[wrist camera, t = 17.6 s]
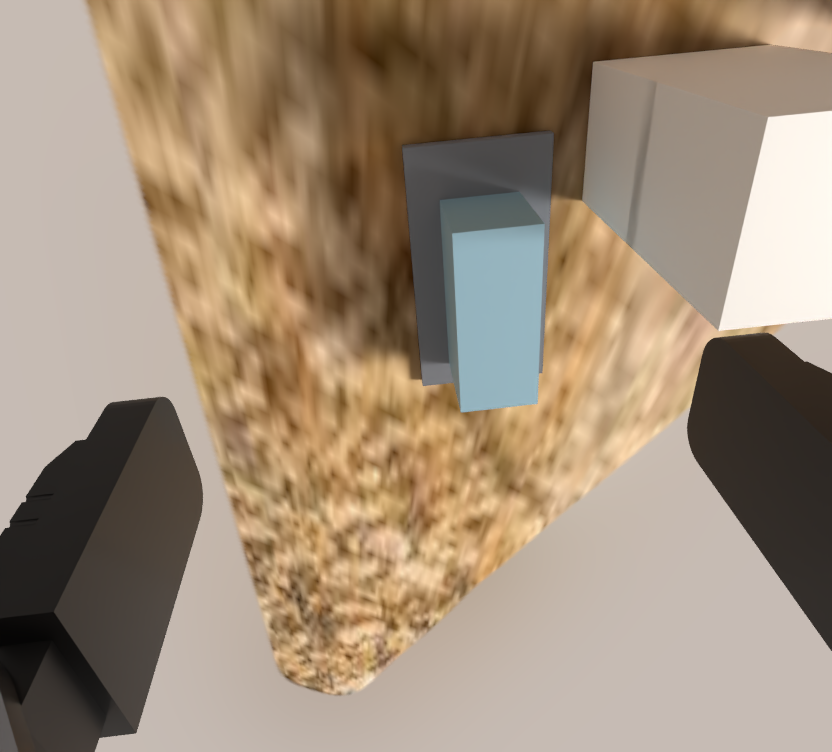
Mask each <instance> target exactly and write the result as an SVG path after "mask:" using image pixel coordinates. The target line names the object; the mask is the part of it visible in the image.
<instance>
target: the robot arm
mask: <svg viewBox="0 0 832 752" xmlns="http://www.w3.org/2000/svg"><path fill="white" fill-rule="evenodd" d="M687 432H688V440H689V444H690V448H691V451H692V453H693V455H694V457H695V459H696V461H697V462H698V464H699V465H700V467H701V468H702V469H703V471H704V472H705V474H706V475H707V476H708V478H709V479H710V481H711V482H712V483H713V485H714V486H715V488H716V489H717V490H718V492H719V493H720V495H721V496H722V497H723V499H724V500H725V502H726V503H727V504H728V506H729V507H730V509H731V510H732V512H733V513H734V514H735V516H736V517H737V519H738V520H739V521H740V523H741V524H742V526H743V527H744V529H745V530H746V531H747V533H748V534H749V535H750V537H751V538H752V540H753V541H754V542H755V544H756V545H757V547H758V548H759V550H760V551H761V552H762V554H763V555H764V556H765V558H766V559H767V561H768V562H769V564H770V565H771V566H772V568H773V569H774V571H775V572H776V574H777V575H778V576H779V578H780V579H781V580H782V582H783V583H784V585H785V586H786V587H787V589H788V590H789V592H790V593H791V595H792V596H793V597H794V599H795V600H796V602H797V603H798V604H799V606H800V607H801V609H802V610H803V611H804V613H805V614H806V615H807V617H808V618H809V620H810V621H811V623H812V624H813V626H814V627H815V628H816V630H817V631H818V633H819V634H820V635H821V637H822V638H823V640H824V641H825V642H826V644H827V645H828V647H829V648H830V649H831V651H832V373H830V372H828V371H826V370H824V369H822V368H819V367H817V366H815V365H813V364H811V363H809V362H804V361H803V360H802V359H800V358H799V357H798V356H797V355H796V354H795V353H793V352H792V351H791V350H790V349H789V348H787V347H786V346H785V345H784V344H783V343H781V342H780V341H779V340H778V339H777V338H776V337H774V336H773V335H771V334H769V333H756V334H746V335H737V336H728V337H719V338H713V339H711V340H710V341H709V342H708V343H707V345H706V346H705V348H704V351H703V355H702V359H701V364H700V368H699V372H698V377H697V381H696V386H695V390H694V395H693V399H692V404H691V408H690V413H689V418H688V425H687ZM202 505H203V491H202V483H201V478H200V475H199V471H198V469H197V466H196V463H195V461H194V458H193V455H192V453H191V450H190V448H189V445H188V442H187V440H186V437H185V434H184V432H183V429H182V426H181V424H180V421H179V419H178V416H177V413H176V411H175V408H174V406H173V404H172V403H171V401H170V400H169V399H168V398H166V397H156V398H147V399H138V400H129V401H120V402H112V403H110V404H108V405H107V406H106V408H105V409H104V411H103V412H102V414H101V416H100V417H99V419H98V421H97V422H96V424H95V426H94V427H93V429H92V431H91V432H90V434H89V436H88V437H87V439H86V440H80V441H75V442H74V443H73V444H71V445H70V446H69V447H68V448H67V449H66V450H64V451H63V452H62V453H61V454H60V455H59V456H57V457H56V458H55V459H54V460H53V461H52V462H50V463H49V464H48V465H47V466H46V467H45V468H44V469H43V471H42V472H41V474H40V476H39V477H38V479H37V480H36V482H35V483H34V485H33V486H32V488H31V490H30V491H29V493H28V494H27V495H26V502H23V503H21V505H20V506H19V508H18V509H17V511H16V512H15V514H14V515H13V517H12V519H11V520H10V527H9V528H5V529H4V531H3V532H2V534H1V535H0V752H95V749H96V746H97V743H98V740H99V738H102V737H110V736H118V735H125V734H134V733H136V732H137V729H138V726H139V722H140V718H141V715H142V712H143V708H144V705H145V702H146V699H147V695H148V692H149V688H150V685H151V682H152V678H153V675H154V672H155V668H156V665H157V661H158V658H159V655H160V651H161V648H162V645H163V641H164V638H165V635H166V631H167V628H168V625H169V621H170V618H171V614H172V611H173V608H174V604H175V601H176V598H177V594H178V591H179V588H180V584H181V581H182V577H183V574H184V571H185V567H186V564H187V561H188V557H189V554H190V550H191V547H192V544H193V540H194V537H195V534H196V530H197V527H198V524H199V520H200V517H201V513H202Z"/></svg>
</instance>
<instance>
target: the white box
mask: <svg viewBox="0 0 832 752" xmlns="http://www.w3.org/2000/svg"><path fill="white" fill-rule="evenodd" d="M582 201H583V202H584V203H585V204H586V205H587V206H588V207H589V208H590V209H591V210H592V211H593V212H594V213H595V214H596V215H598V216H599V217H600V218H601V219H602V220H603V221H604V222H605V223H606V224H607V225H608V226H609V227H610V228H611V229H612V230H613V231H614V232H615V233H616V234H617V235H618V236H620V237H621V238H622V239H623V240H624V241H625V242H626V243H627V244H628V245H629V246H630V247H631V248H632V249H633V250H634V251H635V252H636V253H637V254H638V255H639V256H641V257H642V258H643V259H644V260H645V261H646V262H647V263H648V264H649V265H650V266H651V267H652V268H653V269H654V270H655V271H656V272H657V273H658V274H659V275H660V276H661V277H663V278H664V279H665V280H666V281H667V282H668V283H669V284H670V285H671V286H672V287H673V288H674V289H675V290H676V291H677V292H678V293H679V294H680V295H681V296H682V297H683V298H685V299H686V300H687V301H688V302H689V303H690V304H691V305H692V306H693V307H694V308H695V309H696V310H697V311H698V312H699V313H700V314H701V315H702V316H703V317H704V318H706V319H707V320H708V321H709V322H710V323H711V324H712V325H713V326H714V327H715V328H716V329H717V330H718V331H721V330H730V329H739V328H749V327H758V326H767V325H776V324H786V323H794V322H804V321H813V320H823V319H832V53H828V52H821V51H814V50H807V49H799V48H792V47H785V46H778V45H762V46H752V47H741V48H731V49H720V50H710V51H700V52H689V53H679V54H668V55H658V56H648V57H637V58H627V59H616V60H606V61H596V62H593V69H592V82H591V95H590V107H589V120H588V133H587V146H586V159H585V171H584V184H583V197H582Z"/></svg>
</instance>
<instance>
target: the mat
mask: <svg viewBox="0 0 832 752" xmlns="http://www.w3.org/2000/svg"><path fill="white" fill-rule="evenodd" d="M553 143H554V133H553V132H552V131H541V132H531V133H520V134H510V135H500V136H490V137H480V138H470V139H460V140H450V141H440V142H429V143H419V144H409V145H402V153H403V164H404V176H405V188H406V199H407V211H408V223H409V234H410V246H411V258H412V269H413V281H414V293H415V304H416V316H417V328H418V339H419V351H420V363H421V374H422V383H423V386H427V385H437V384H446V383H454V382H453V377H452V373H451V369H450V365H449V353H448V336H447V319H446V302H445V285H444V268H443V251H442V234H441V217H440V200H445V199H454V198H464V197H473V196H483V195H492V194H502V193H511V192H520V193H521V194H522V195H523V197H524V198H525V199H526V201H527V202H528V203H529V204H530V206H531V207H532V208H533V209H534V211H535V212H536V213H537V215H538V216H539V217H540V218H541V220H542V221H543V222H544V223H545V229H544V254H543V279H542V304H541V328H540V353H539V373H542V369H543V348H544V328H545V307H546V287H547V266H548V246H549V225H550V205H551V184H552V164H553Z"/></svg>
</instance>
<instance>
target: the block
mask: <svg viewBox="0 0 832 752" xmlns="http://www.w3.org/2000/svg"><path fill="white" fill-rule="evenodd" d="M440 217H441V234H442V251H443V268H444V285H445V302H446V319H447V336H448V353H449V365H450V369H451V373H452V377H453V382H454V386H455V390H456V394H457V398H458V402H459V407H460V411H461V412H469V411H478V410H487V409H495V408H504V407H513V406H522V405H531V404H537V403H538V378H539V353H540V328H541V304H542V279H543V254H544V229H545V223H544V222H543V221H542V220H541V218H540V217H539V216H538V215H537V213H536V212H535V211H534V209H533V208H532V207H531V206H530V204H529V203H528V202H527V201H526V199H525V198H524V197H523V195H522V194H521V193H520V192H511V193H502V194H492V195H483V196H473V197H464V198H454V199H445V200H440Z"/></svg>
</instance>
